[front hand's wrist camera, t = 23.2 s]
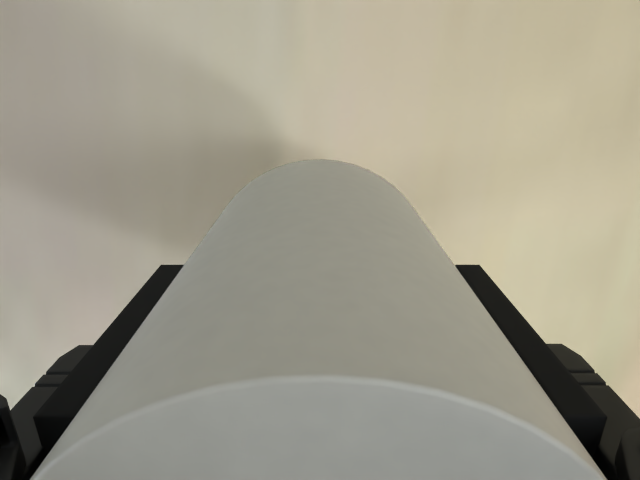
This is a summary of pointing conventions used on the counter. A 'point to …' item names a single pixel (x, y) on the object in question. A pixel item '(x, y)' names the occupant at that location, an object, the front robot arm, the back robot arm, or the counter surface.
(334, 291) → the can
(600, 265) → the counter surface
